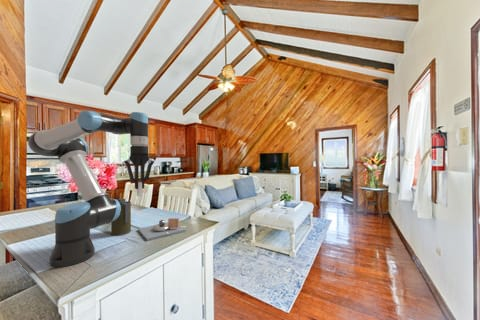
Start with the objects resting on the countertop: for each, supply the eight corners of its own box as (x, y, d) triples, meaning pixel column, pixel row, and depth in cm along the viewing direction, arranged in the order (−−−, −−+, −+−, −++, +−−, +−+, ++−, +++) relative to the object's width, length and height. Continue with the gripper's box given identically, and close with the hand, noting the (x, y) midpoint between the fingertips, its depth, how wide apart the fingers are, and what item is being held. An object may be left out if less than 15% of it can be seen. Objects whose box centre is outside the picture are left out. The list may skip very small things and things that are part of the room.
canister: (106, 233, 115) (106, 199, 115) (124, 228, 124) (124, 196, 124) (118, 237, 110) (117, 201, 110) (135, 231, 119) (135, 198, 119)
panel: (147, 241, 105) (147, 238, 105) (138, 230, 120) (138, 228, 120) (189, 230, 120) (189, 228, 120) (176, 222, 135) (176, 220, 135)
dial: (150, 231, 114) (150, 221, 114) (156, 225, 124) (156, 216, 124) (176, 231, 115) (176, 221, 115) (180, 225, 125) (180, 216, 125)
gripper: (125, 144, 86) (125, 198, 86) (156, 146, 94) (156, 195, 94) (122, 145, 92) (122, 196, 92) (151, 146, 100) (151, 193, 100)
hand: (139, 195), depth 93 cm, fingers closed
